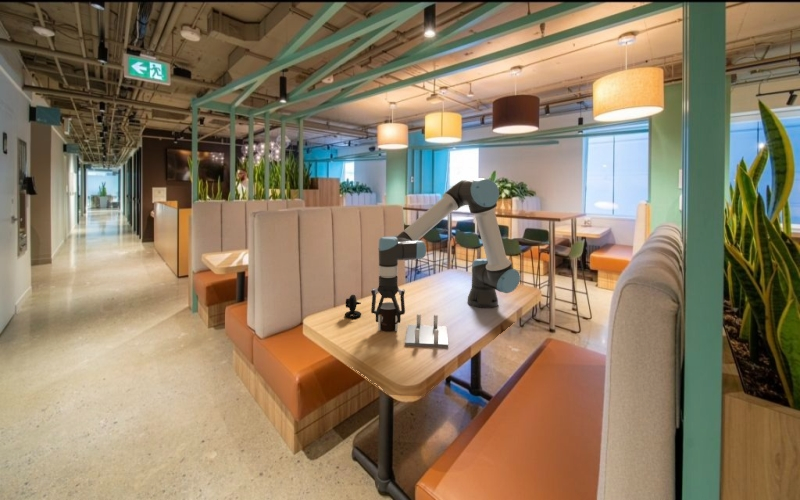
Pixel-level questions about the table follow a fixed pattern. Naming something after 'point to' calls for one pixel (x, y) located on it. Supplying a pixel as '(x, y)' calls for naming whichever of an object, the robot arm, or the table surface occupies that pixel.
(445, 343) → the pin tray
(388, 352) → the table surface
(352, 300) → the webcam
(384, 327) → the coffee mug
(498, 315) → the table surface
